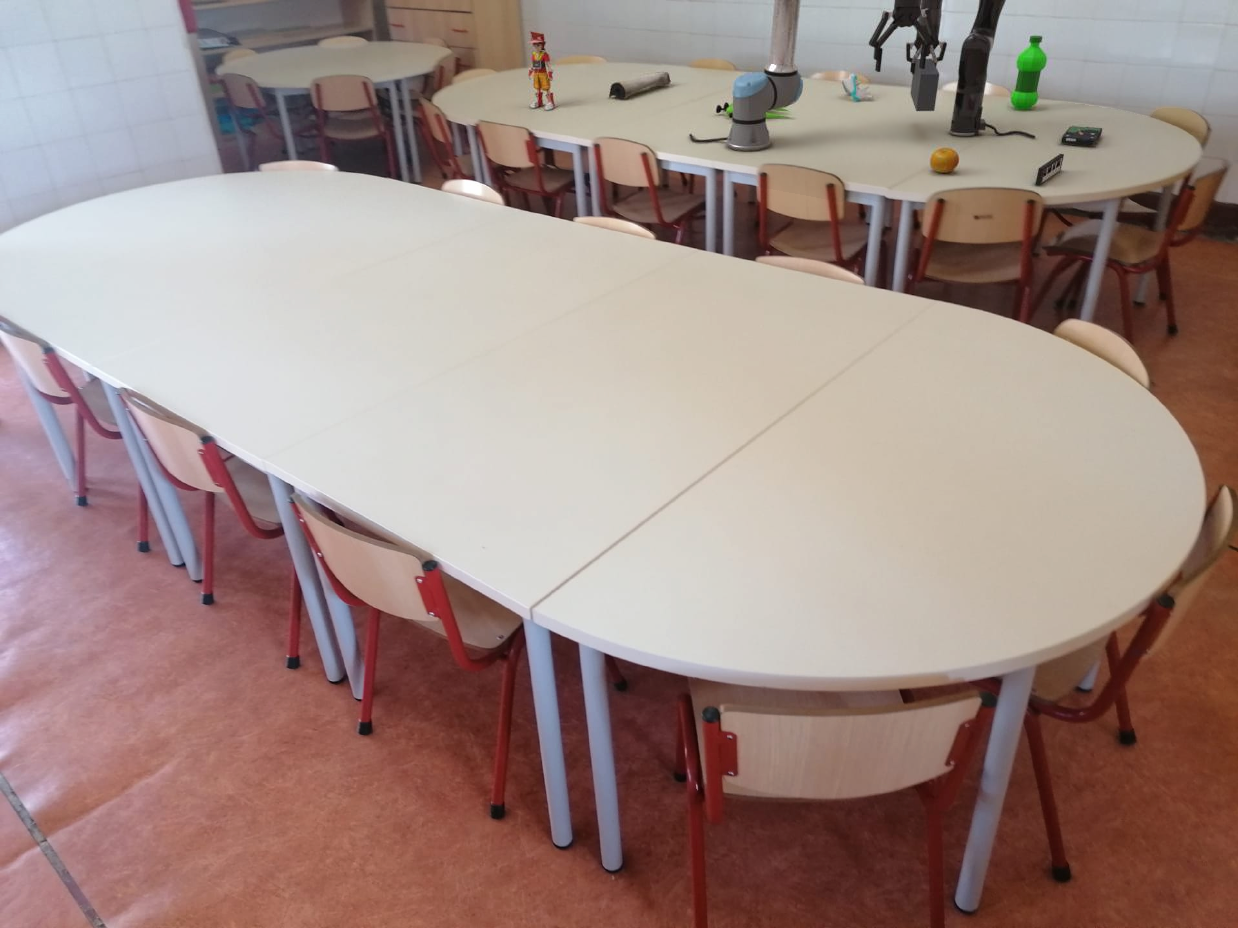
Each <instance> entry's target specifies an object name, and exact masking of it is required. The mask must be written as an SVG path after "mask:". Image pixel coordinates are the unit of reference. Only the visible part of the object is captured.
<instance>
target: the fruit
mask: <svg viewBox="0 0 1238 928" xmlns="http://www.w3.org/2000/svg"><path fill="white" fill-rule="evenodd" d="M959 163H960V156H959V154H958V152H957V151H956V150H955V149H953V148H951V147H942V148H938V149H936V150H934V151H933V153H932V154H931V155H930V159H929V166H930V168H931V169H932V170H933V171H934V172H936V173H939V174H940V173H943V174H944V173H945V174H946V173H951V172H953V171H954V170H956V168H957V167H958V165H959Z"/></svg>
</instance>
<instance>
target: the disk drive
mask: <svg viewBox="0 0 1238 928" xmlns="http://www.w3.org/2000/svg"><path fill="white" fill-rule="evenodd" d="M1102 132H1103V127H1094V126H1092V127H1091V126H1076V125H1071V126H1069V127H1068V129H1067V130H1066V131H1065V132H1064V134H1063V135H1062V136H1061V142H1060V144H1063V145H1072V146H1080V147H1081V146H1082V147H1094V146H1095V145H1096V143H1097V142H1098V141H1099V139H1100V137H1101V136H1102Z"/></svg>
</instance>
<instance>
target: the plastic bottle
mask: <svg viewBox="0 0 1238 928" xmlns="http://www.w3.org/2000/svg"><path fill="white" fill-rule="evenodd" d="M1042 42H1043V36H1042V35H1030V37H1029V41H1028V43H1030V44H1029V46H1028V47H1026V49H1024V50H1023V51H1021V52H1020V53H1019V54H1018V56H1017V59H1016V68H1017V70H1018V71H1017V77H1016V82H1015V87H1014V90H1013V91H1012V93H1011V96H1010V103H1011V105H1012V106H1013V107H1014V108H1015V109H1016V110H1020V111H1027V110H1030V109H1031V108H1033V107H1034V106H1035V105H1036V104H1037V102H1038V101H1039V92H1038V87H1039V82H1040V78H1041V72H1042V70H1043V69H1045V67H1046V66H1047V61H1048V59H1047V54H1046V52H1044V50H1043V48H1041V47H1040V44H1041V43H1042Z"/></svg>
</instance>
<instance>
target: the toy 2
mask: <svg viewBox="0 0 1238 928" xmlns="http://www.w3.org/2000/svg"><path fill="white" fill-rule="evenodd" d="M722 111H724V112H725V113H726V115H728V117H729V118H730V119H731V118H732V119H733V102H732V103H731V104H729V103H728V102H727V101H725V102H724V103H723V107H722V106H721V105H720V104H717V106H716V109H715V112H716V114H720V113H721V112H722ZM773 111H778V112H779V111H781V112H789V109H786V108H785V107H783V108H778V109H774V110H773ZM777 118H781V119H783V118H785V119H792V118H793V117H791V116H786V115H781V114H776V113H773V112H772V113H771V112H768V111H766V119H777Z"/></svg>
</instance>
